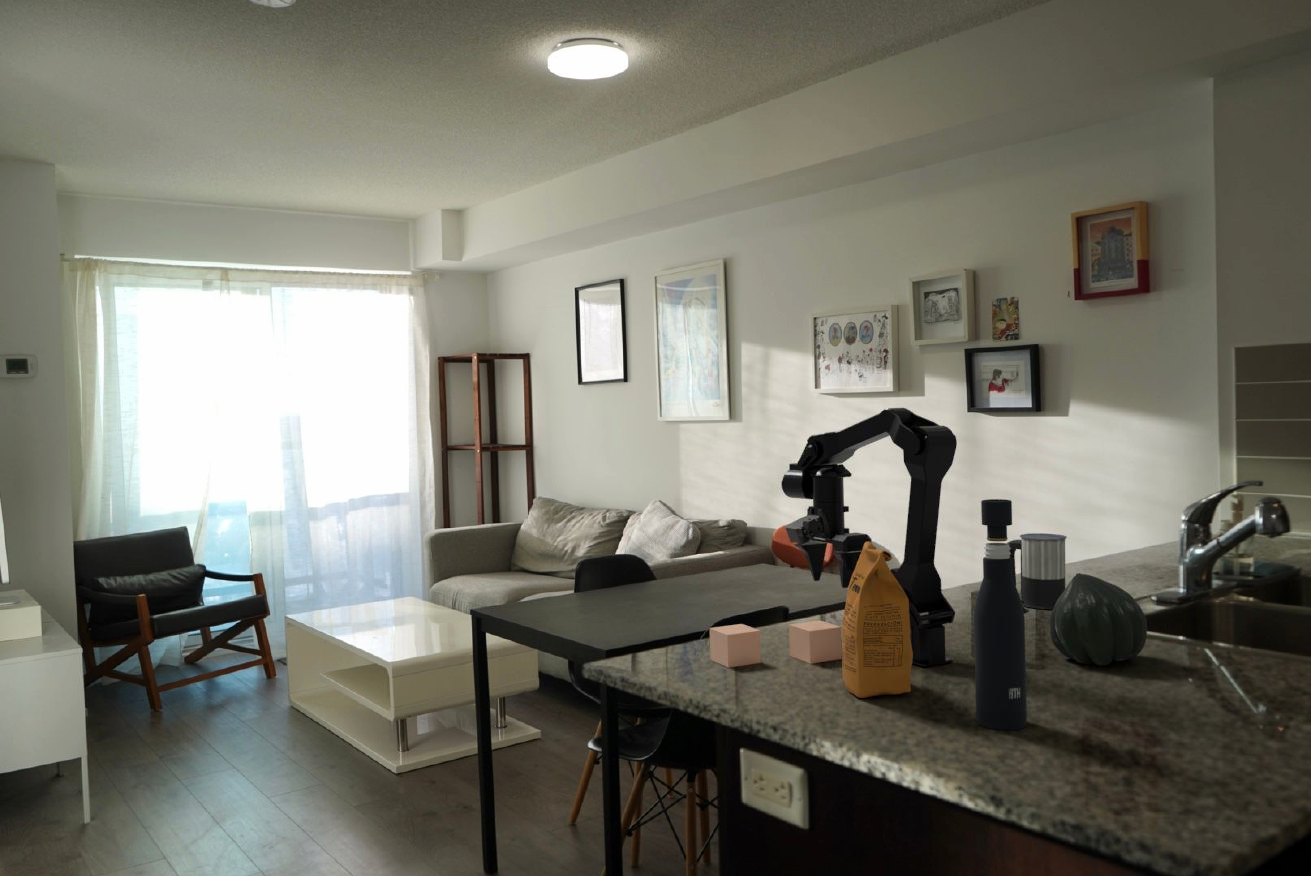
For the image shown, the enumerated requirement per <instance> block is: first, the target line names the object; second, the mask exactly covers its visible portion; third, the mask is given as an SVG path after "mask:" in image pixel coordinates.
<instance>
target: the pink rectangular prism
mask: <svg viewBox="0 0 1311 876" xmlns="http://www.w3.org/2000/svg"><path fill="white" fill-rule="evenodd" d="M788 634H789V635H788V637H789V657H792V658H794V659H797V660H799V661H803V662H805V663H807V664H811V665H813V664H816V663H823V662H829V661H830V662H831V661H836V660H842V626H839V625H837V624H833V623H829V622H827V621H823V620H820V619H819V620H813V621H812V620H811V621H806V622H805V621H804V622H797V623H791V624H788Z"/></svg>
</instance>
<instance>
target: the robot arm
mask: <svg viewBox="0 0 1311 876" xmlns="http://www.w3.org/2000/svg"><path fill="white" fill-rule="evenodd" d="M887 437H890V440H891V441H892V443H893V444H894V445H895V446H896V447H899V448H900V449H901V450H902V452H903V454H902V455H903V464H904V466H905V467H906V470H907V472H908V474H909V476H910V485H909V486H910V488H909V498H908V508H907V509H908V510H907V520H906V521H907V522H906V533H905V544H904V552H903V553H904V554H903V561H902V562H901V565H900V566H899V567H896V568H895V567H894V568H891V569H890V571H891V573H892V574H893V575H894V577H895V578H896V580H897V581H898V583H899V584H900V586H901V587H902V589H903V590H904V592H905V594H906V596H907V598H908V600H909V617H910V640H911V647H912V652H913V660H912V665H917V666H919V667H923V668H925V667H932V666H937V665H943V664H950V663H953V662H954V659H953V658H952V657H947V656H946V654H947V653H946V651H947V649H946V626H945V625H946V624H953V623H954V620H955V616H956V611H955V610H954V608H953V607H952V605H951V604H950V601H948V600H947V598H946V596H945V595H944V594H943V591H942V578H941V576H940V574H939V572H938V570H937V568H936V565H935V557H936V556H935V554H936V543H937V537H938V536H937V533H938V523H939V515H940V514H939V513H940V503H941V492H942V483H943V480H944V478H945V477H946V475H947V473H948V472H949V470H950V469H951V467H952V465H953V463H954V459H955V455H956V451H957V445H958V442H957V441H958V440H957V436H956V434H954V432H953V431H952V430H951V429H950V427H947V426H946V425H940V424H938V423H937V422H935V421H932V420H931V419H928V418H925V417H922V416H920V415H918V414H916V413H914V412H913V411H911V410H910V409H908V408H906V407H888V408H884V409H883V410H881V411H880V412H879V413H877V414H874V415H872V416H870V417H867V418H866V419H863V420H862V421H859V422H856V423H854V424H852V425H850V426H847V427H845V428H843V429H841V430H836V431H829V432H821V433H816V434H815V433H814V434H811V435H810V436H809V437H808V438H807V443H806V444H805V446H804V448H803V451H802V453H801V455H800V457H799V460H797V462H796V463H795V462H793V463H789V464H788V465H789V468H788V470H786V472H784V473H785V474H784V475H783V477H782V480H781V490H782V492H783V493H784V494H785V496H786V497H788V498H792V499H802V500H803V499H804V500H812V505H810V506H808V508H807V509H806V510H807V513H806V515H804V516H802V517H800V518H798V519H796V520H794V521H792V522H790V523H788V524H786V525H785V527H784V528H785V531H786V533H787V536H788V540H789V541H790V543H793V546H794V547H796V548H798V549H799V550H800V551H801V552H803V554H804V556H805V559H806V561H807V565H808V567H809V570H810V573H811V576H812V579H813V581H814V582H819V581H820V580H821V577H822V573H823V568H824V563H825V557H826V552H827V547H828V544H831V545H832V548H833V550H834V551H832V554H833V555H834V556H835V557H836V559H837V560H838V567H839V576H840V578H839V579H840V584H841V588H842V589H848V588H849V583H850V580H851V577H852V574H853V572H854V570H855V567H856V565H857V562H858V560H859V557H860V554H861V552H862V549H863V546H864V543H865V542H868V541H870V542H871V543H872V544H873V542H872V538H871V536H869V535H868V534H867V533H862V532H850V528H848V527H846V526H845V513H849V512H850V507H849V505H845V498H844V496H845V493H844V492H845V491H844V490H845V489H844V478H850V477H852V475H853V474H852V472H850V470H849V469H847V468H846V466H845V465H844V464H843V463H844V462H846V461H847V460H849V459H850V458H853V456H854V455H855V452H856V451H857V450H859V449H861V448H863V447H866V446H868V445H870V444H873V443H876V442H877V441H880V440H882V439H885V438H887ZM925 613H927V614H925ZM921 614H922V615H921Z"/></svg>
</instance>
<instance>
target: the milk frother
mask: <svg viewBox="0 0 1311 876" xmlns="http://www.w3.org/2000/svg"><path fill="white" fill-rule="evenodd" d="M1019 538H1021V539H1013V540H1010V541H1007V542H1006V543H1007V544H1009V547H1010V548H1011V549H1010V550H1009V552H1010V553H1011V554H1010V557H1011V558H1012V560H1013V580H1014V583H1015V585H1016V586H1017V576H1016V575H1017V574H1016V573H1017V572H1016V555H1015V553H1016V551H1017V550H1020V599H1021V604H1022V608H1023V611H1024V609H1025V607H1027V608H1031V609H1040V610H1053V608H1054V606H1055V604H1056V602H1057V600H1058V599H1059V597H1060V596H1061V594H1062V593H1063V592H1064V590H1065V589H1066V588H1067V587H1066V539H1067V538H1068V537H1067V536H1066V535H1065V534H1063V535H1062V534H1055V533H1043V532H1042V533H1038V532H1037V533H1035V532H1034V533H1029V532H1028V533H1022V534H1020V535H1019Z"/></svg>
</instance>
